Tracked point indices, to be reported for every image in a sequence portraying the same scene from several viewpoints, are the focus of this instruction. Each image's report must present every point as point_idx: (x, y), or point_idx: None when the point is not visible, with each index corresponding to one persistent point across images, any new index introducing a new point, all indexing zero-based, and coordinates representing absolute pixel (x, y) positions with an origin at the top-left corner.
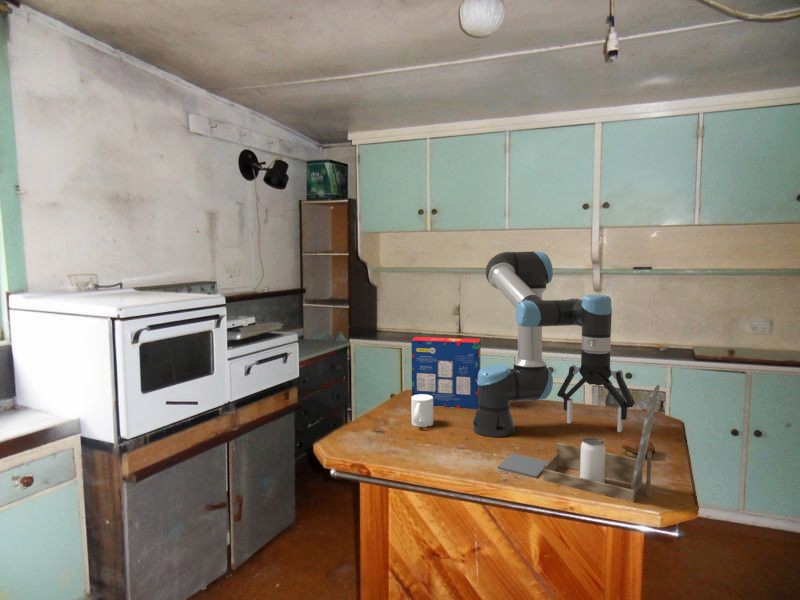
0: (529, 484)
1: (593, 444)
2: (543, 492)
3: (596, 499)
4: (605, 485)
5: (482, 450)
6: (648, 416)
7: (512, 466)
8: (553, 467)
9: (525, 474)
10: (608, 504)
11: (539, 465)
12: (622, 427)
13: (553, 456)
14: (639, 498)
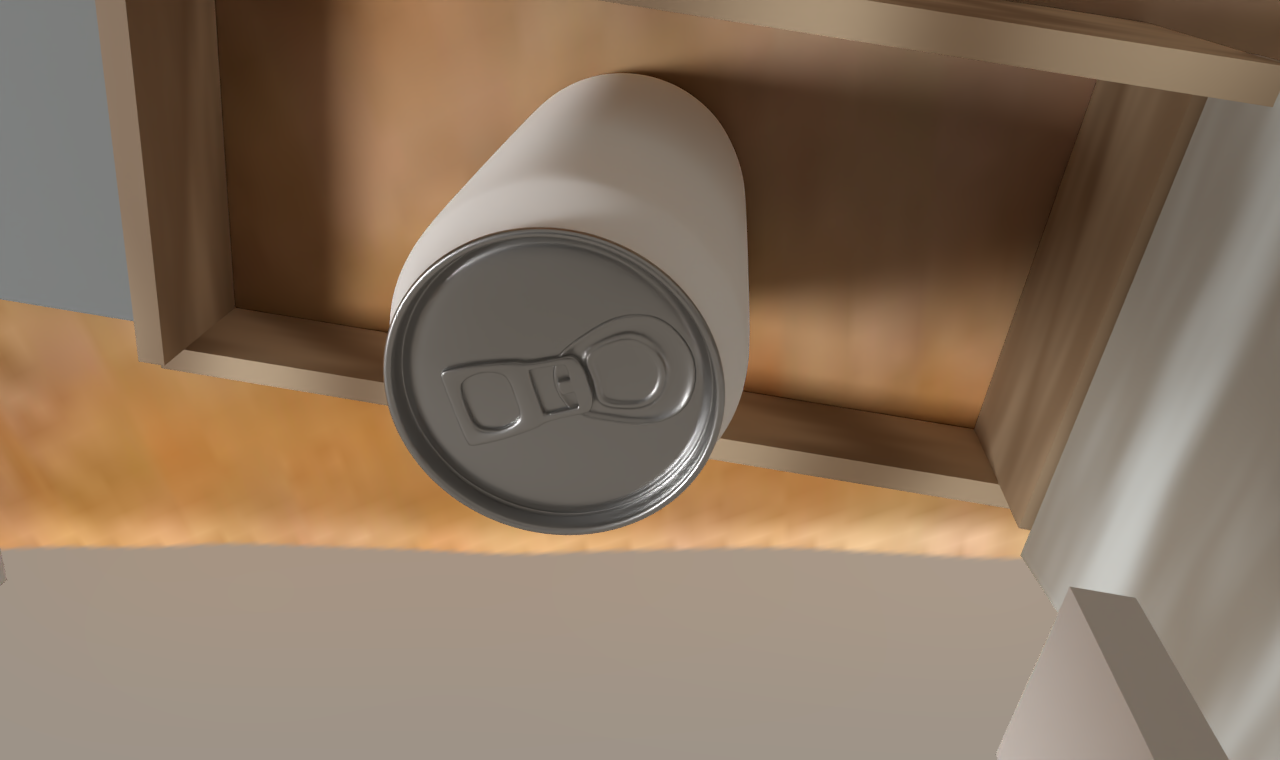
0: (159, 445)
1: (575, 473)
2: (307, 531)
3: (698, 502)
4: (764, 463)
5: None
6: None
7: None
8: (196, 106)
9: (40, 302)
10: (791, 545)
11: (41, 47)
12: (1152, 639)
13: (107, 58)
14: None
